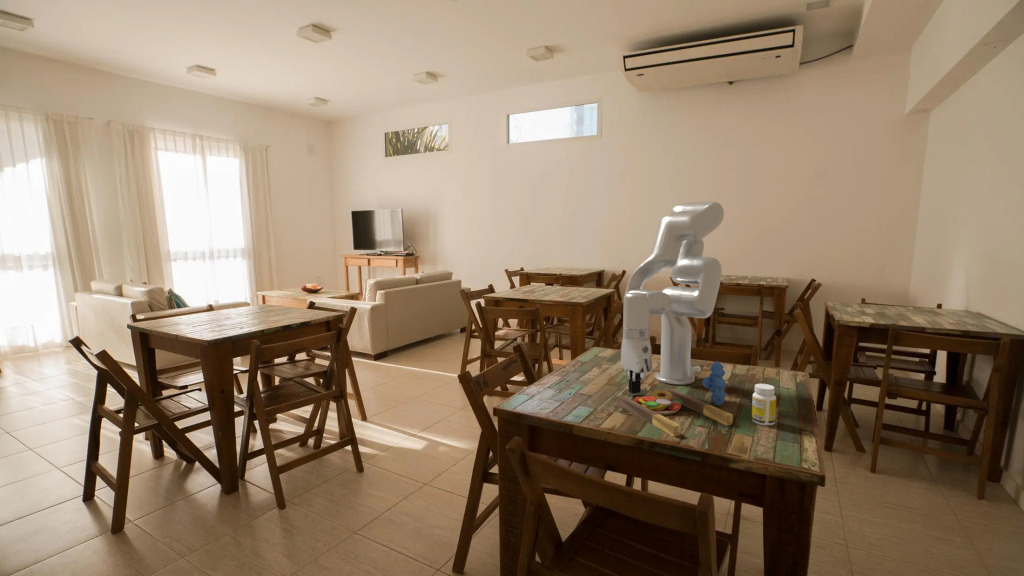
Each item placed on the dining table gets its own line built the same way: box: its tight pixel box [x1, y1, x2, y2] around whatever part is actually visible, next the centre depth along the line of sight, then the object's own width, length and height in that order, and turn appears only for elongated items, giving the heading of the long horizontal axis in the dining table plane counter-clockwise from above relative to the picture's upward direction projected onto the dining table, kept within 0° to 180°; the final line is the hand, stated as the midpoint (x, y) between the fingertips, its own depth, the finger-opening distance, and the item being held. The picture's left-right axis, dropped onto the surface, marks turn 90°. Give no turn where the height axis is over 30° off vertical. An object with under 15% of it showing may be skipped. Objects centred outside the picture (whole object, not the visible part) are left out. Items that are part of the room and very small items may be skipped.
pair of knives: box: [616, 387, 734, 437], centre depth 129 cm, size 19×24×2 cm
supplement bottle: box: [751, 383, 777, 426], centre depth 122 cm, size 6×5×10 cm
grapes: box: [701, 360, 727, 406], centre depth 137 cm, size 12×7×12 cm, turn 166°
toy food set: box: [633, 389, 683, 416], centre depth 134 cm, size 13×13×3 cm
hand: (634, 392), depth 144 cm, fingers closed
